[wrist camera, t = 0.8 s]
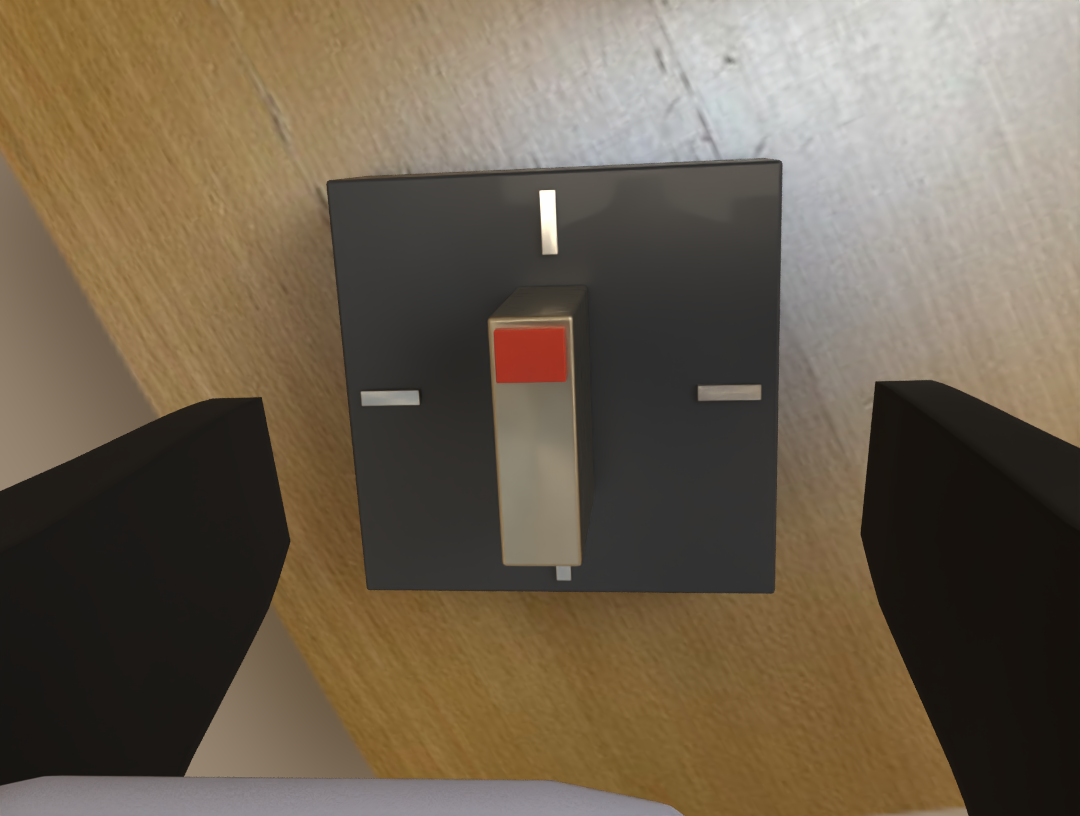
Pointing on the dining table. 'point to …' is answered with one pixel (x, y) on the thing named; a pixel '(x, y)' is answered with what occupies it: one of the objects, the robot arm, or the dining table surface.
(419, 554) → the dial panel
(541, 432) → the dial
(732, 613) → the dining table surface
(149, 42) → the dining table surface
